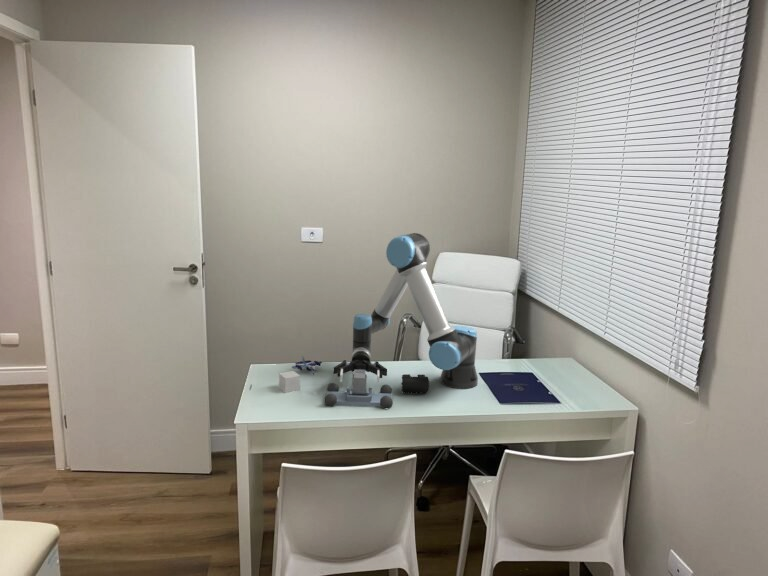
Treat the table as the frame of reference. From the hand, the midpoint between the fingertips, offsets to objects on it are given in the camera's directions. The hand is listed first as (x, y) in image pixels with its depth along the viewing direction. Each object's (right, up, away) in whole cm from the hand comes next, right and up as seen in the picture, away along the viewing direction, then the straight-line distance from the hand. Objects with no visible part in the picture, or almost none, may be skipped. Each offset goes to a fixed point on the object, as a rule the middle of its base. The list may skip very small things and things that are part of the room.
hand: (359, 379), depth 209 cm
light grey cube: (-27, -6, +12) cm, 31 cm away
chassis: (0, -9, +3) cm, 9 cm away
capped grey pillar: (0, -7, +3) cm, 8 cm away
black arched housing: (+21, -8, +13) cm, 26 cm away
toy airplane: (-22, -2, +30) cm, 38 cm away
